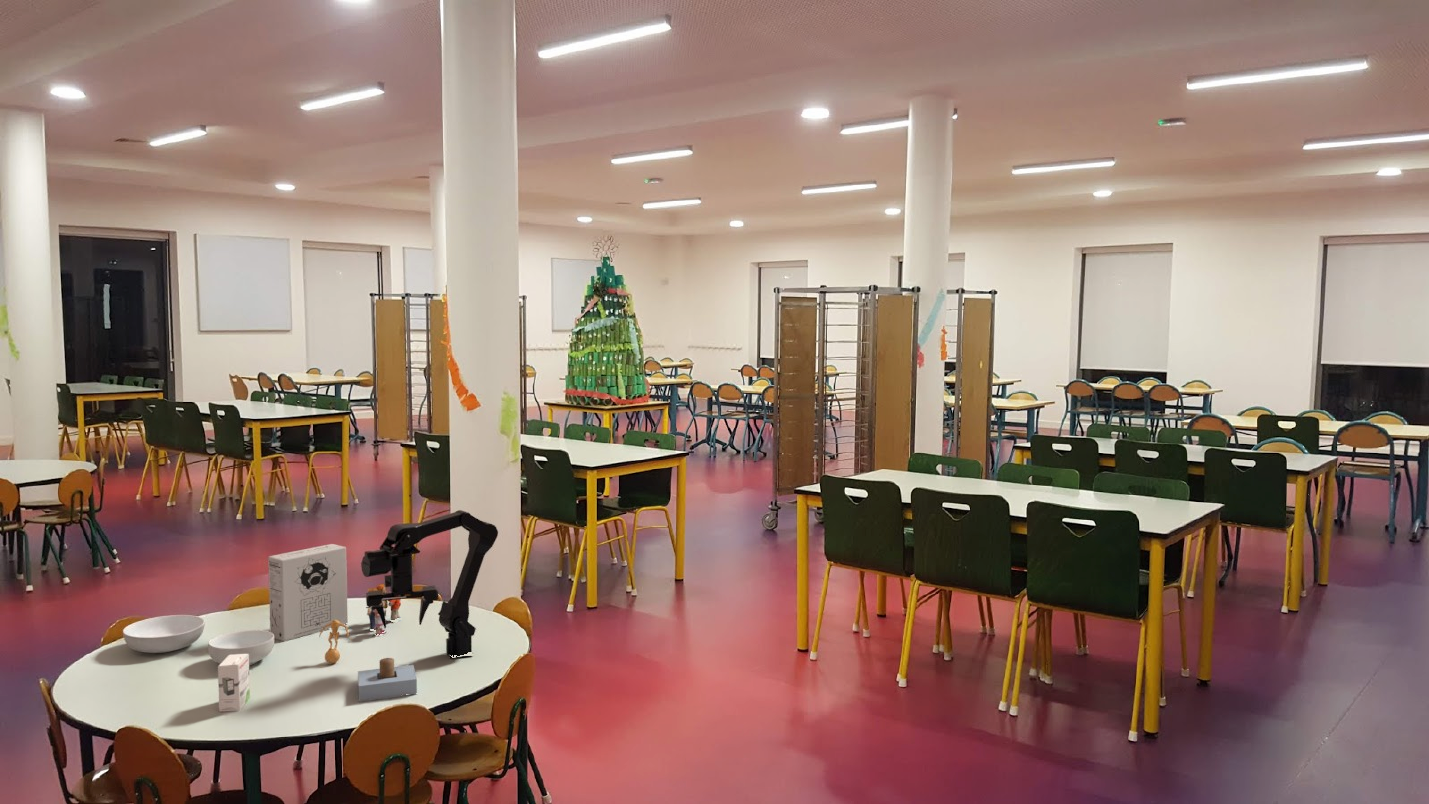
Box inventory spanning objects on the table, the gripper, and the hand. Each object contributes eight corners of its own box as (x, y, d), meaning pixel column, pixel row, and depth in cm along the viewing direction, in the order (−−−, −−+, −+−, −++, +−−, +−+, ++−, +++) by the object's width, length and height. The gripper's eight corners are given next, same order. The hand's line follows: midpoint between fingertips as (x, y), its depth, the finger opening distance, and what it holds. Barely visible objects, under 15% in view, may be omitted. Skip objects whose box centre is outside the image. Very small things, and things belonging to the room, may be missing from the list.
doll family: (381, 638, 289) (380, 596, 288) (350, 638, 289) (349, 595, 288) (405, 617, 310) (404, 577, 309) (375, 616, 310) (375, 577, 309)
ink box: (230, 698, 242) (228, 653, 241) (250, 697, 243) (249, 652, 242) (218, 712, 234) (217, 665, 233) (240, 711, 235) (238, 664, 234)
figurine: (314, 665, 266) (313, 623, 265) (323, 657, 272) (322, 616, 271) (344, 665, 266) (343, 623, 265) (352, 658, 272) (351, 617, 271)
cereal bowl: (284, 663, 268) (284, 638, 267) (222, 678, 256) (221, 652, 255) (260, 648, 279) (259, 625, 279) (199, 662, 267) (198, 638, 267)
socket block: (413, 679, 256) (413, 664, 256) (416, 694, 246) (416, 679, 246) (358, 686, 251) (357, 671, 251) (359, 701, 241) (358, 686, 241)
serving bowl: (131, 666, 264) (130, 642, 264) (117, 646, 280) (116, 623, 279) (213, 650, 278) (213, 626, 277) (195, 632, 294) (195, 610, 293)
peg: (394, 686, 251) (393, 657, 250) (395, 691, 248) (394, 661, 247) (379, 688, 250) (379, 658, 249) (380, 693, 246) (379, 663, 246)
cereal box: (334, 619, 307) (332, 543, 305) (348, 624, 303) (346, 546, 301) (269, 637, 290) (267, 556, 288) (283, 642, 285) (281, 560, 283)
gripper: (434, 561, 273) (434, 614, 274) (365, 566, 266) (366, 621, 268) (438, 570, 263) (438, 625, 264) (366, 576, 256) (367, 633, 257)
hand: (402, 626), depth 264 cm, fingers open, 9 cm apart
